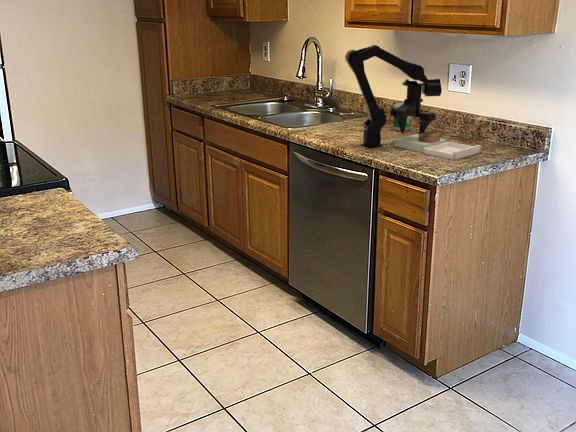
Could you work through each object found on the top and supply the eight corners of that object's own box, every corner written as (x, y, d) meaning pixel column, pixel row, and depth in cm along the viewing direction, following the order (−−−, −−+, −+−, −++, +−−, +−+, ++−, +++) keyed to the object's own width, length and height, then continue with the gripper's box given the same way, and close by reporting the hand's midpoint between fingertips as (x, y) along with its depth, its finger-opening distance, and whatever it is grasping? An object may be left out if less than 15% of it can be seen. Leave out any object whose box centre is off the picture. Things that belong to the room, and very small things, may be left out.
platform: (394, 146, 247) (394, 139, 246) (416, 141, 256) (416, 134, 254) (423, 152, 237) (424, 145, 236) (445, 146, 245) (445, 139, 244)
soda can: (396, 131, 273) (398, 105, 269) (390, 128, 280) (391, 102, 276) (412, 131, 275) (414, 104, 271) (406, 127, 282) (407, 101, 278)
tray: (422, 153, 235) (422, 145, 234) (448, 146, 246) (448, 139, 245) (454, 160, 225) (455, 152, 224) (480, 152, 235) (480, 145, 234)
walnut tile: (418, 140, 242) (418, 133, 241) (427, 138, 246) (427, 131, 245) (430, 143, 238) (431, 135, 237) (439, 141, 242) (440, 133, 241)
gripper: (382, 96, 244) (380, 134, 249) (420, 101, 231) (418, 142, 236) (400, 93, 251) (398, 130, 256) (438, 98, 238) (435, 137, 243)
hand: (411, 135), depth 248 cm, fingers open, 9 cm apart
